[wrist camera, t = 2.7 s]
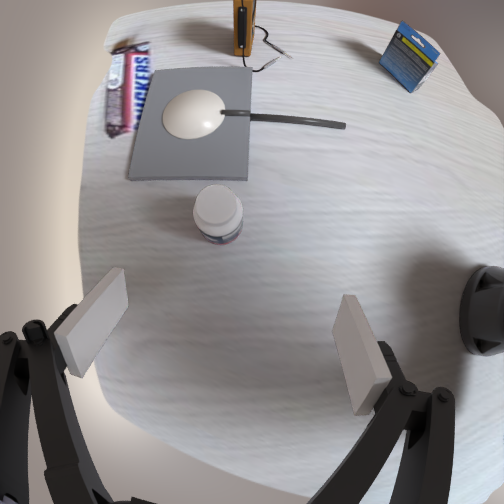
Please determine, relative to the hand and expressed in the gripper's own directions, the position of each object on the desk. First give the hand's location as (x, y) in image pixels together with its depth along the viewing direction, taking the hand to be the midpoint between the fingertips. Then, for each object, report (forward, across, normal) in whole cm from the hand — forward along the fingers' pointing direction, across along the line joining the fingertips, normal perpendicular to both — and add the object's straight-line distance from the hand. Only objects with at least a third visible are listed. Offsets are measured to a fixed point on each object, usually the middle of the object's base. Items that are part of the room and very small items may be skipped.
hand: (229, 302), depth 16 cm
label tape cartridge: (+39, -25, -26) cm, 53 cm away
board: (+29, +2, -11) cm, 31 cm away
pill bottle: (+20, +3, +2) cm, 21 cm away
